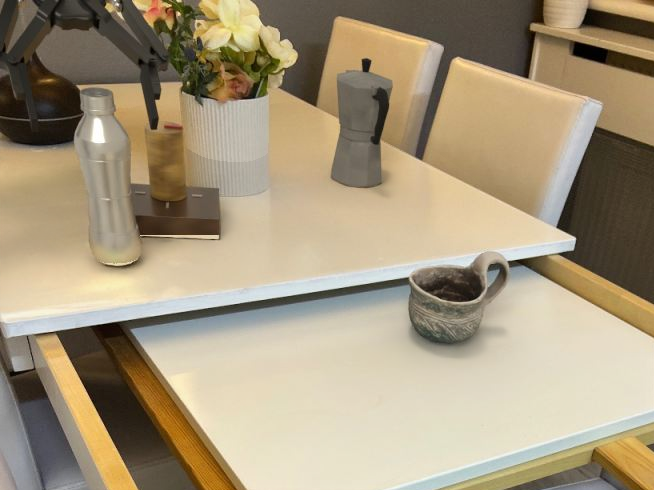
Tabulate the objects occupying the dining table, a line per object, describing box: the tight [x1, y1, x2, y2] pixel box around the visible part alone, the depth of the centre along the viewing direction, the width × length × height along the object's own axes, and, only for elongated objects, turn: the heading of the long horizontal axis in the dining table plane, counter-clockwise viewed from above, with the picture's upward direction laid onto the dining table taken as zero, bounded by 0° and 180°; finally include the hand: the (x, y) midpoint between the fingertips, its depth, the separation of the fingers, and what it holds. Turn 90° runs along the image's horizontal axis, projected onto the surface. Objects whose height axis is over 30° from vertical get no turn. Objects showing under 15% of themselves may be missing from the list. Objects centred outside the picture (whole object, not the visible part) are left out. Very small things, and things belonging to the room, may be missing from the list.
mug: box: [407, 250, 511, 344], centre depth 94 cm, size 10×12×10 cm
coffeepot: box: [330, 57, 394, 188], centre depth 125 cm, size 15×9×18 cm, turn 24°
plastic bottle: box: [73, 86, 143, 264], centre depth 94 cm, size 6×7×20 cm
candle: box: [144, 120, 187, 201], centre depth 108 cm, size 5×5×9 cm
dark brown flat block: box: [131, 182, 221, 236], centre depth 111 cm, size 14×12×3 cm
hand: (96, 125), depth 93 cm, fingers open, 13 cm apart
